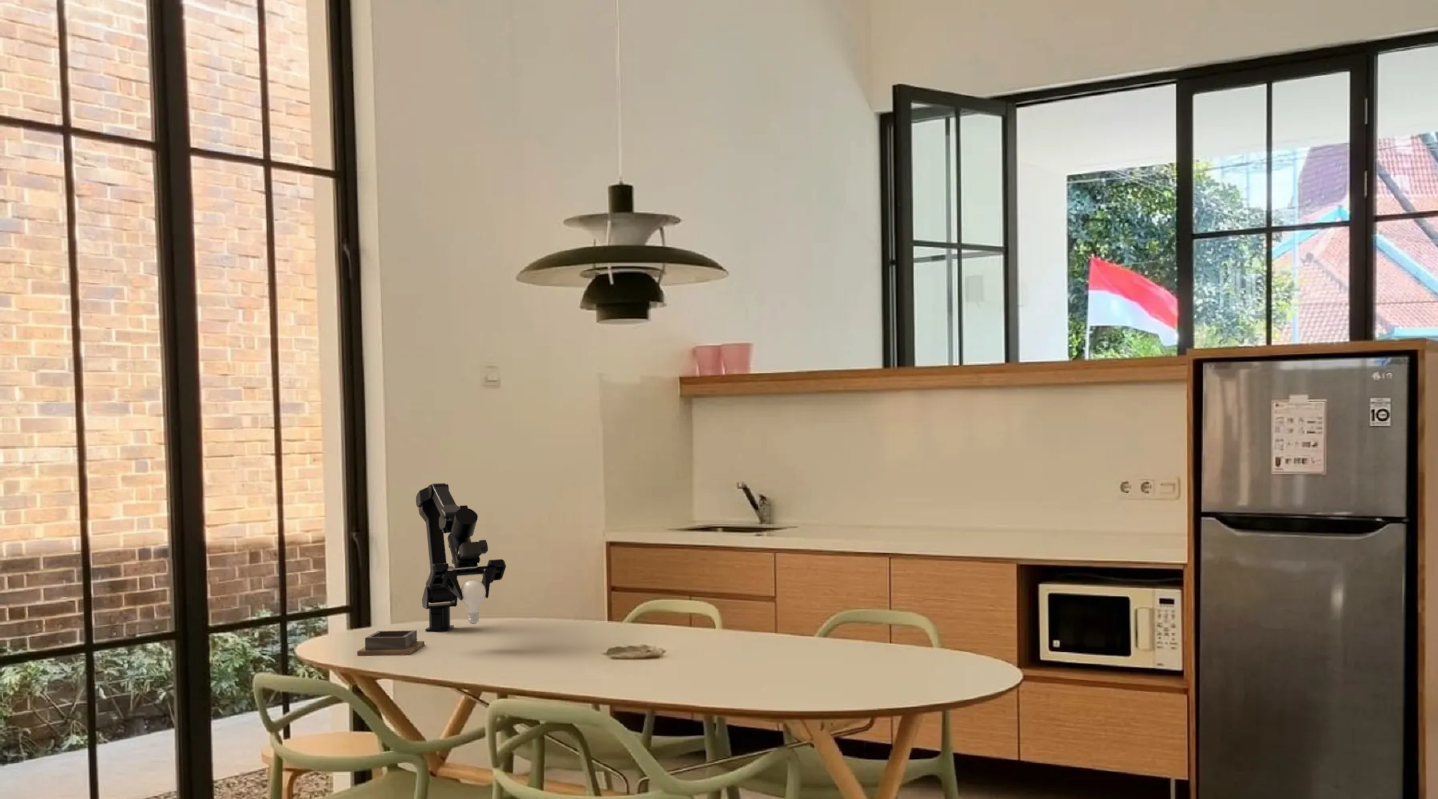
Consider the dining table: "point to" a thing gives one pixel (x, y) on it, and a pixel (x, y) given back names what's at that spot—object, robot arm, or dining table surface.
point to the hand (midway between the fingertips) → (474, 598)
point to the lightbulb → (473, 598)
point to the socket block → (391, 643)
